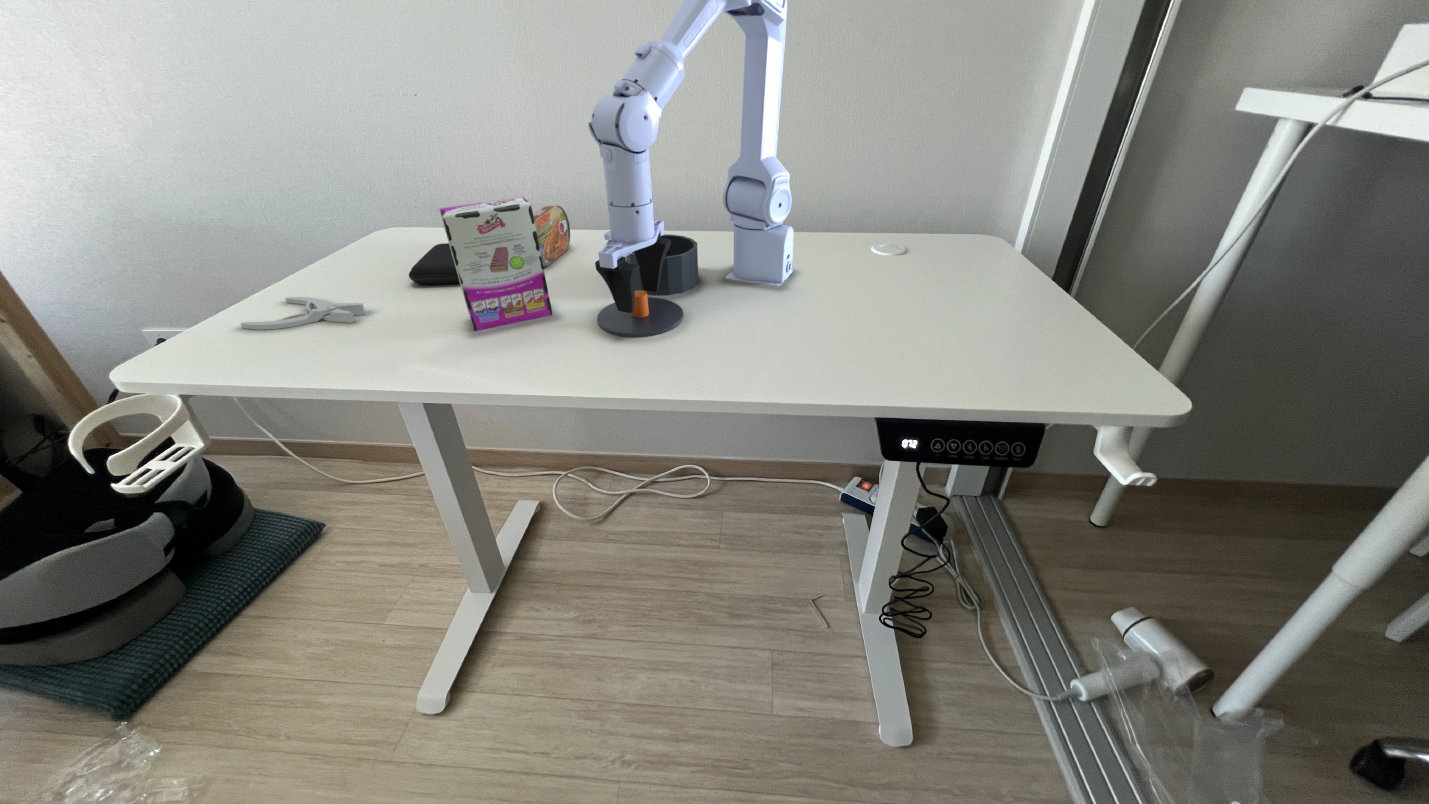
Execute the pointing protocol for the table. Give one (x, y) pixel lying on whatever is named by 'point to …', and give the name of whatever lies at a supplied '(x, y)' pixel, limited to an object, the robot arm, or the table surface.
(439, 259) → the carrying case
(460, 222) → the candy bar box
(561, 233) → the tin
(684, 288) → the dark grey pot
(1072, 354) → the table surface
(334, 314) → the pliers
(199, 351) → the table surface
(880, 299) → the table surface
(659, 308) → the lid
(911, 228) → the table surface
